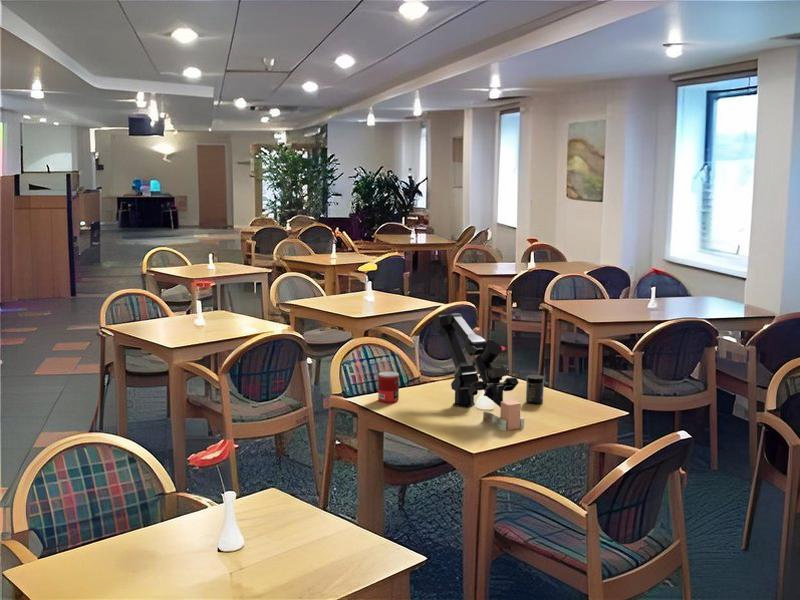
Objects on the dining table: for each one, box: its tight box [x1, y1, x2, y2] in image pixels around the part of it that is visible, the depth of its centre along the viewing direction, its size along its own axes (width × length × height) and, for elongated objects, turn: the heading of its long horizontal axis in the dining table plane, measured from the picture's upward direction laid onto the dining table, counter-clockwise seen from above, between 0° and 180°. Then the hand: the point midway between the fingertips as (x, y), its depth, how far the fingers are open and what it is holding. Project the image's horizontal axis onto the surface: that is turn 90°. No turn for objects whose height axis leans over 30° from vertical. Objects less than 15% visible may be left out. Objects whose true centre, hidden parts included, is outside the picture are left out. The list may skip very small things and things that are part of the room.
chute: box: [482, 410, 525, 432], centre depth 301 cm, size 13×9×4 cm
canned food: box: [377, 370, 400, 404], centre depth 329 cm, size 8×8×11 cm
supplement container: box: [525, 374, 545, 406], centre depth 329 cm, size 7×7×10 cm
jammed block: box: [499, 399, 521, 431], centre depth 297 cm, size 5×5×9 cm
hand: (501, 406), depth 301 cm, fingers closed
